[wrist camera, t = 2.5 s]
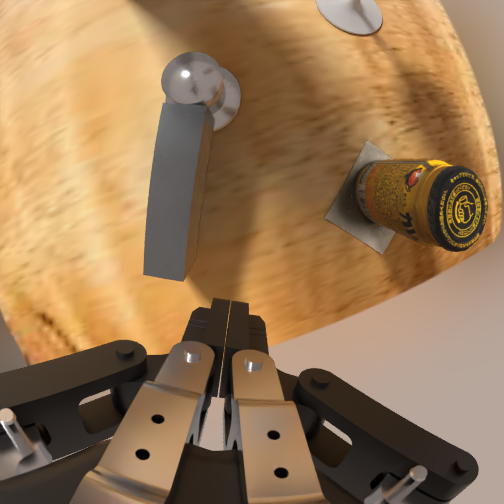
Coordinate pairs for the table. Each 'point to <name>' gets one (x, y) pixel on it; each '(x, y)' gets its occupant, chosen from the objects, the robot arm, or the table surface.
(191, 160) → the swing arm
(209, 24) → the table surface
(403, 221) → the condiment
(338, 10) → the wineglass
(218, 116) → the swing arm mount
